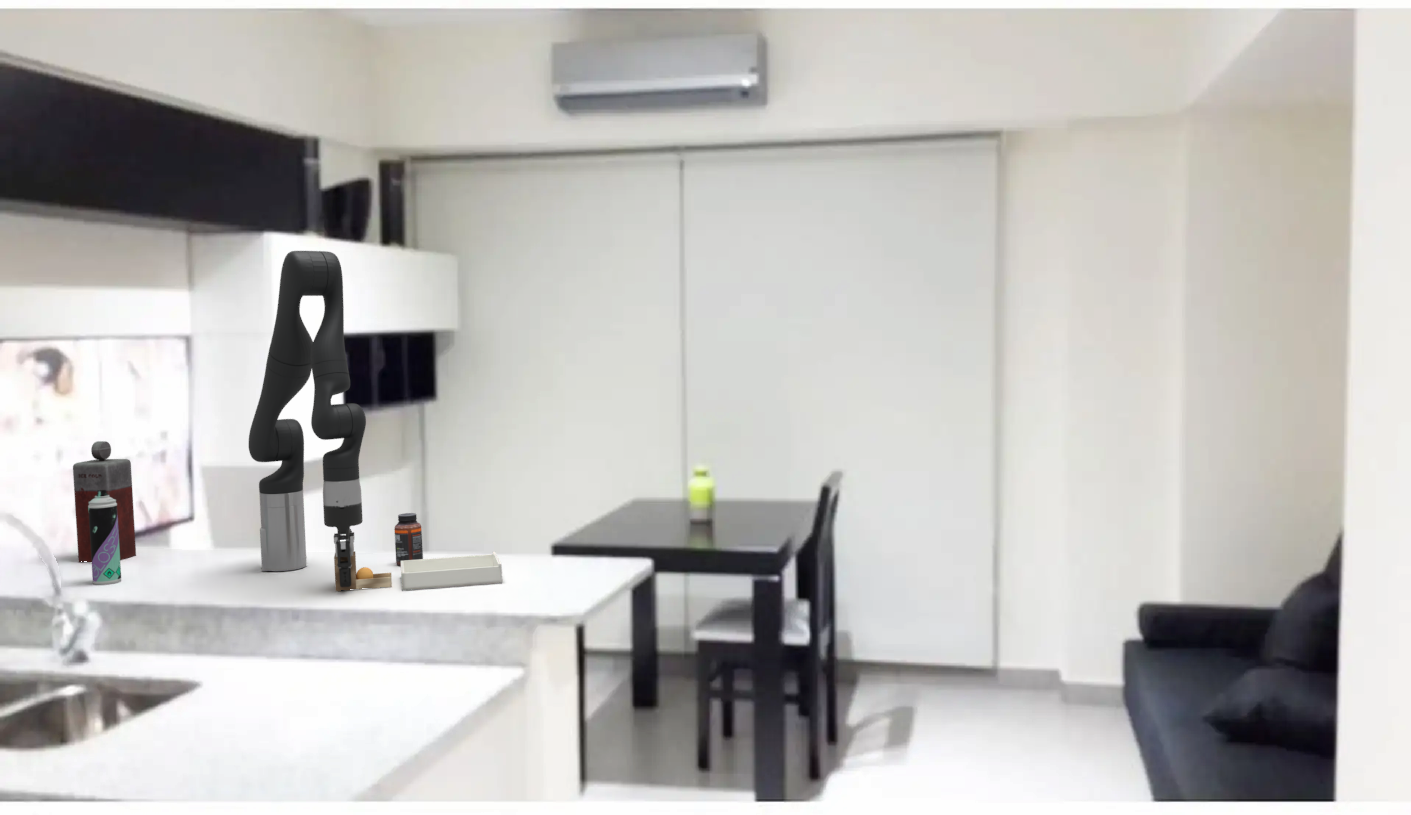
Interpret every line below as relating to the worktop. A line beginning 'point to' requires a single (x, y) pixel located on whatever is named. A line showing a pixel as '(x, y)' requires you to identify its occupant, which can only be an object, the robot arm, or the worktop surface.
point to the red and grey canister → (118, 486)
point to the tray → (451, 572)
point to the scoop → (374, 582)
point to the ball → (364, 573)
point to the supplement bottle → (408, 538)
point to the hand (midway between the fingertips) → (346, 583)
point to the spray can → (104, 539)
